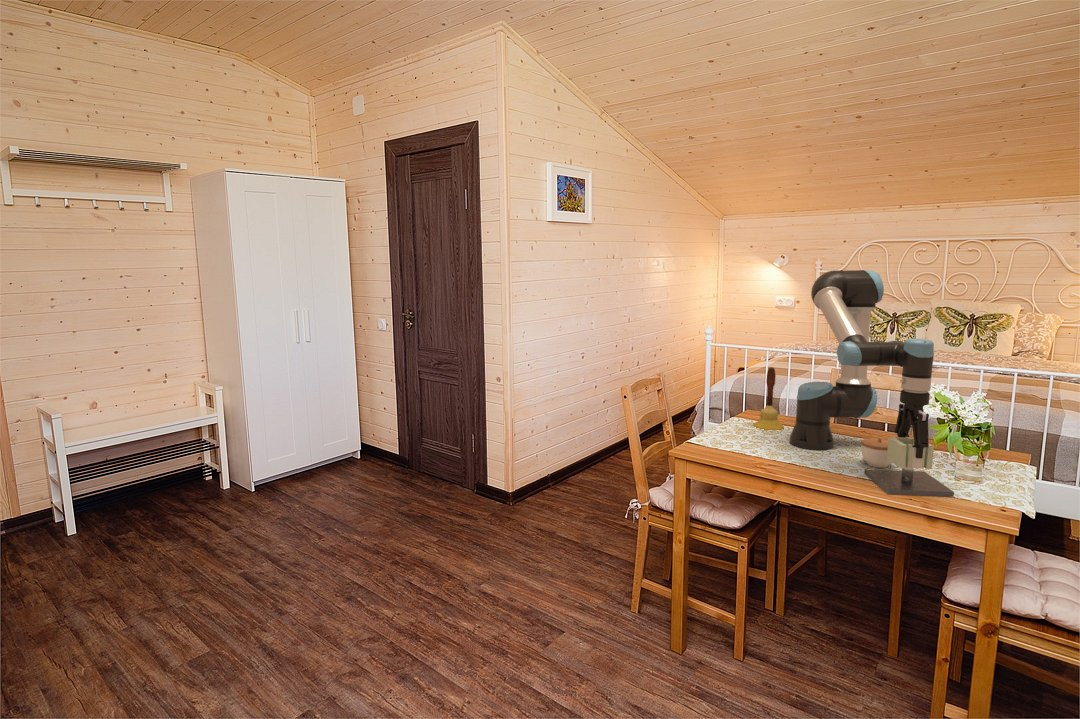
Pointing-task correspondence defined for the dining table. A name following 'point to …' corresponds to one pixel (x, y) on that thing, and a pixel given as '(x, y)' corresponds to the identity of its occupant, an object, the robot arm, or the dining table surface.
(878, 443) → the lidded jar
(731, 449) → the dining table surface
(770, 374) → the handbell
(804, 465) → the dining table surface
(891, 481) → the keeper base
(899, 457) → the square link
